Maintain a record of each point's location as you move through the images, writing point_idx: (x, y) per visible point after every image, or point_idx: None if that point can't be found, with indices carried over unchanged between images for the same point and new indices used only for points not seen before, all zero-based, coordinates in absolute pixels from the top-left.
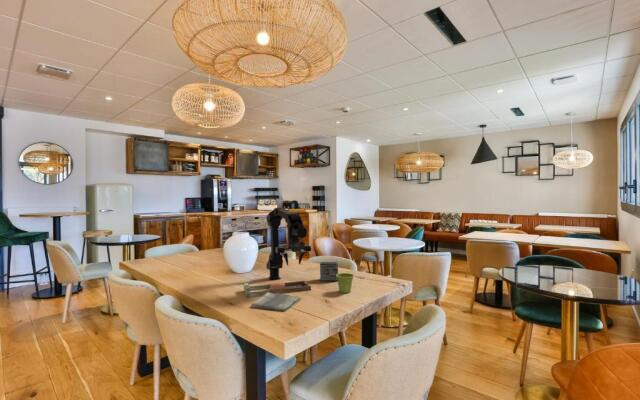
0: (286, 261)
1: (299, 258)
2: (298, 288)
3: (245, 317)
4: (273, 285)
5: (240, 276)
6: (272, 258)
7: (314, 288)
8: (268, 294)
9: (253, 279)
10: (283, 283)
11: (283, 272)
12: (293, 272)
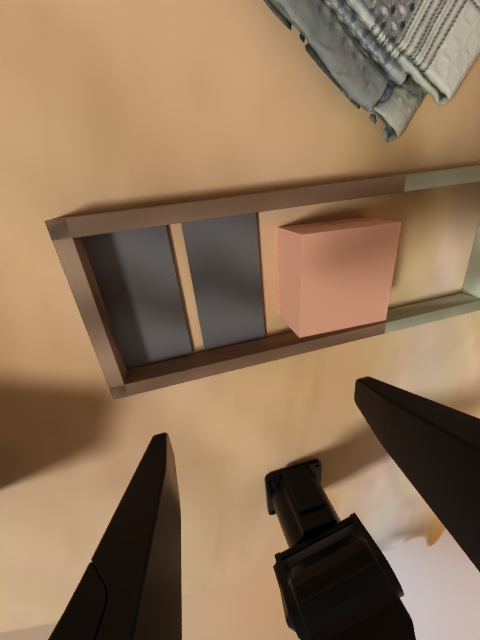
0: (443, 406)
1: (167, 568)
2: (177, 203)
3: None
4: (388, 228)
5: (415, 499)
6: (402, 607)
7: (23, 262)
8: (453, 45)
9: (383, 466)
10: (306, 271)
11: (234, 569)
12: (182, 577)
